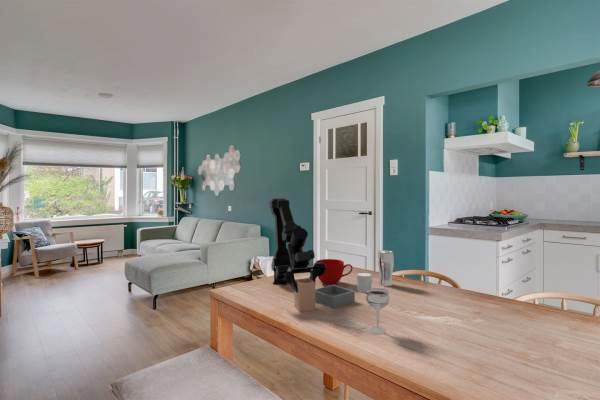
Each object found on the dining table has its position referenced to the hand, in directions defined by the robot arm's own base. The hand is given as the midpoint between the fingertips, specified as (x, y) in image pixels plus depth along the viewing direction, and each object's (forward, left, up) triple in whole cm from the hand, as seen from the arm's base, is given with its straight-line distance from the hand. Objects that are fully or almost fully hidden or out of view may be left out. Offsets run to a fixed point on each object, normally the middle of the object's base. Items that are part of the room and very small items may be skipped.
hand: (305, 291), depth 119 cm
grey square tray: (+8, +11, -7) cm, 15 cm away
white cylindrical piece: (+19, +27, -7) cm, 34 cm away
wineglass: (+25, -13, -7) cm, 29 cm away
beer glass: (+28, +38, -7) cm, 48 cm away
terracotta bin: (-1, +1, -7) cm, 7 cm away
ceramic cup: (+5, +35, -7) cm, 36 cm away
